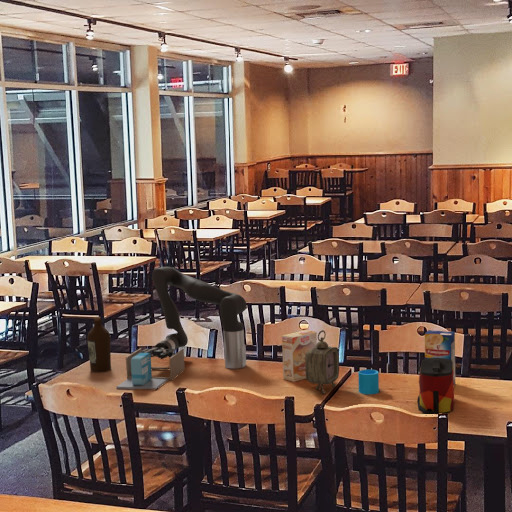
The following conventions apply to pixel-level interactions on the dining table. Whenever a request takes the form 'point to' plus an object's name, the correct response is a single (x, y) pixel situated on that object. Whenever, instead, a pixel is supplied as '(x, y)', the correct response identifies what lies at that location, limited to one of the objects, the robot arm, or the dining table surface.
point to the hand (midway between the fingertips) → (152, 356)
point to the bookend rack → (175, 367)
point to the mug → (368, 381)
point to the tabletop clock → (322, 364)
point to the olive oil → (99, 347)
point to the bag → (436, 386)
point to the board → (149, 385)
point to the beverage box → (440, 345)
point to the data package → (141, 368)
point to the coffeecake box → (296, 353)
